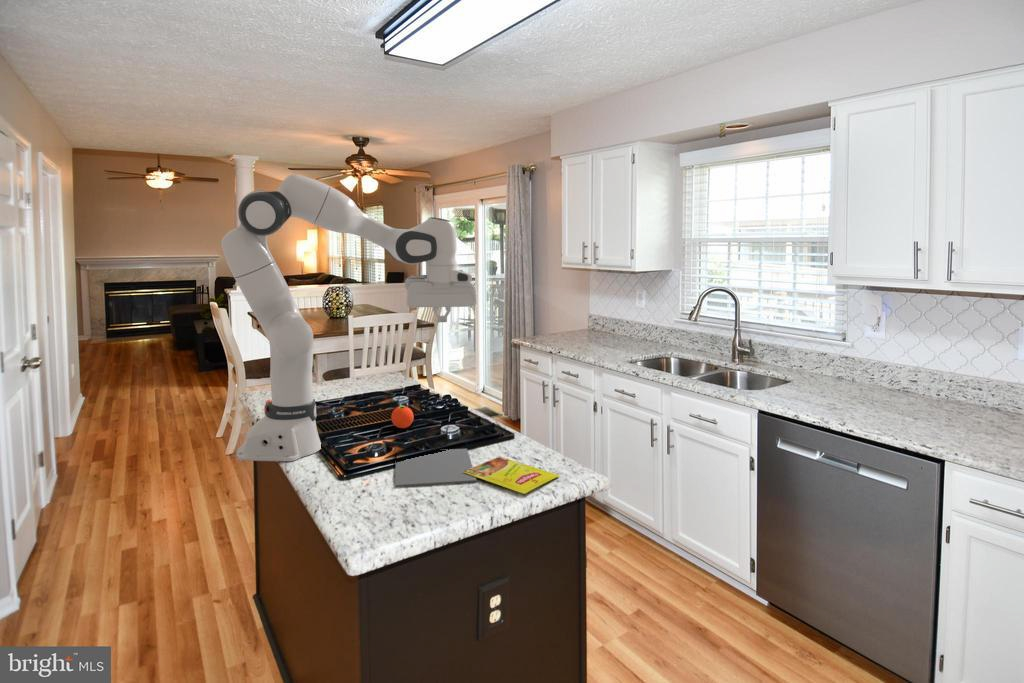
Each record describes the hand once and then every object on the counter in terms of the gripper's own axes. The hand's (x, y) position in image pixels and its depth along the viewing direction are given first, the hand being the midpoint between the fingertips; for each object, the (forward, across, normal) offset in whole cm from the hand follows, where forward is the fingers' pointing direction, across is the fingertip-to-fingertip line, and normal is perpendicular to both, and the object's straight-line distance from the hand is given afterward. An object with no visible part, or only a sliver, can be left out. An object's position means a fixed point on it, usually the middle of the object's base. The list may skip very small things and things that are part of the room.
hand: (441, 322), depth 182 cm
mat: (+35, -4, -24) cm, 43 cm away
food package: (+34, +9, -25) cm, 44 cm away
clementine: (+35, -12, +10) cm, 39 cm away
